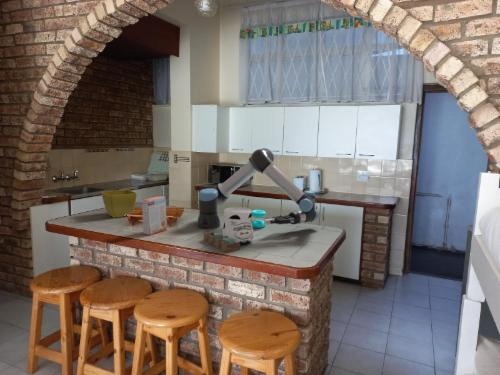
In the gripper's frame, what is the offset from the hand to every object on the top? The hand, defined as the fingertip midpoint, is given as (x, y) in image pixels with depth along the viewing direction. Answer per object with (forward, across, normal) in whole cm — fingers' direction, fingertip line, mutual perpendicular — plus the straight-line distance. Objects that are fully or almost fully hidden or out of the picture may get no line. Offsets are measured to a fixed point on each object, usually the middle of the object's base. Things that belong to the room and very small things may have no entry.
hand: (265, 222), depth 205 cm
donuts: (-9, +21, -9) cm, 25 cm away
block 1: (+27, +6, -9) cm, 29 cm away
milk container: (+18, 0, -9) cm, 20 cm away
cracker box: (+52, +41, -9) cm, 67 cm away
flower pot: (+60, +95, -10) cm, 113 cm away
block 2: (+28, -5, -9) cm, 29 cm away
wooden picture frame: (+29, 0, -9) cm, 30 cm away
